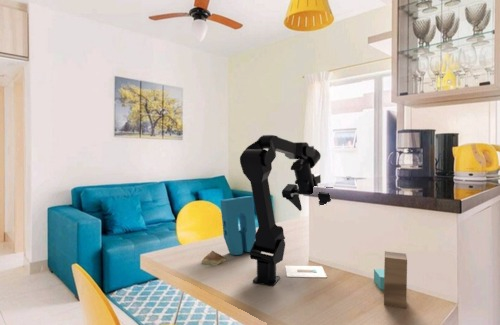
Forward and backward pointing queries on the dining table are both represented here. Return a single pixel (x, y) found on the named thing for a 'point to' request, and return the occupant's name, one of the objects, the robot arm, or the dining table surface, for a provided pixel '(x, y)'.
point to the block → (232, 234)
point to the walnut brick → (395, 279)
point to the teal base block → (379, 278)
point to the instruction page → (305, 271)
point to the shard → (213, 258)
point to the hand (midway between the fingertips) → (311, 211)
